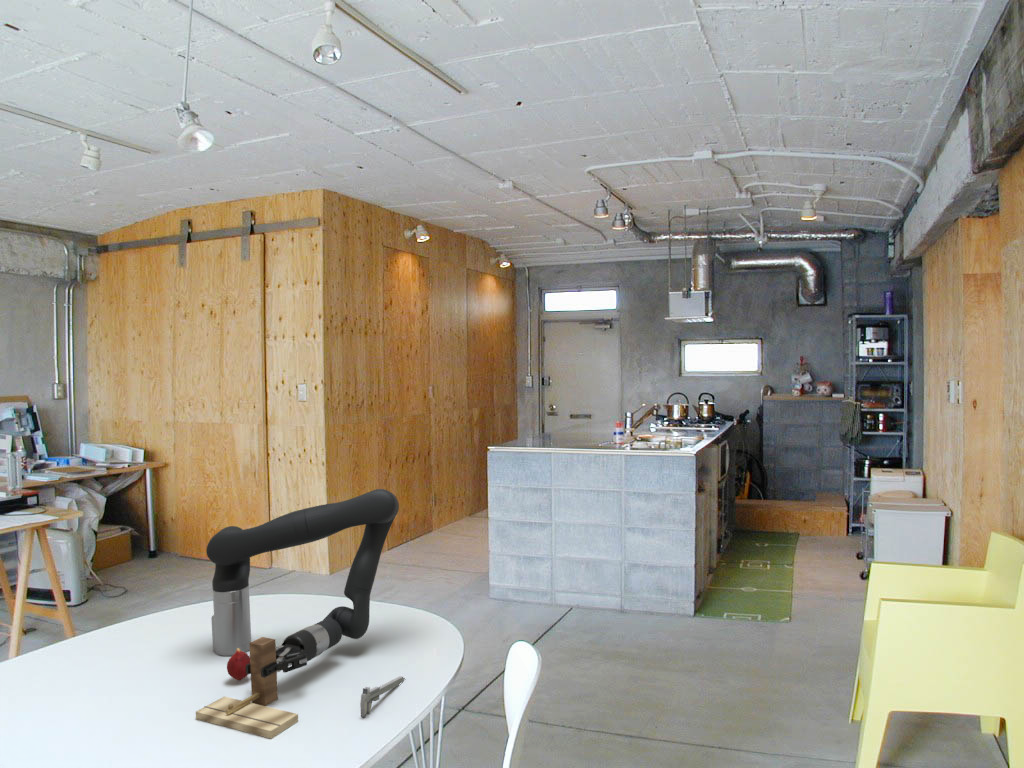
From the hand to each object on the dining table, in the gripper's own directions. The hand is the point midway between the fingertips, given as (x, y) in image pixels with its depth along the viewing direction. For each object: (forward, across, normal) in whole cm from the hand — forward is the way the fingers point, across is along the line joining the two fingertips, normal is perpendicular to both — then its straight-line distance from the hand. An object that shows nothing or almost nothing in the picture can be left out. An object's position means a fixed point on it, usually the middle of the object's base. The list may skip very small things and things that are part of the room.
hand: (254, 671), depth 170 cm
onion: (-9, -14, +8) cm, 18 cm away
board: (+6, +3, +8) cm, 10 cm away
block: (+2, 0, +8) cm, 8 cm away
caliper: (-15, +25, +8) cm, 30 cm away
